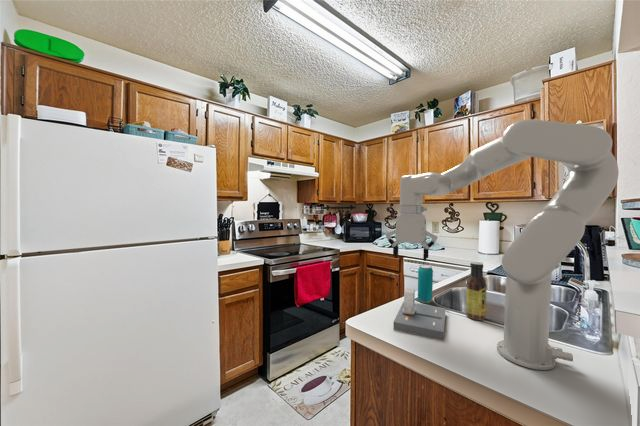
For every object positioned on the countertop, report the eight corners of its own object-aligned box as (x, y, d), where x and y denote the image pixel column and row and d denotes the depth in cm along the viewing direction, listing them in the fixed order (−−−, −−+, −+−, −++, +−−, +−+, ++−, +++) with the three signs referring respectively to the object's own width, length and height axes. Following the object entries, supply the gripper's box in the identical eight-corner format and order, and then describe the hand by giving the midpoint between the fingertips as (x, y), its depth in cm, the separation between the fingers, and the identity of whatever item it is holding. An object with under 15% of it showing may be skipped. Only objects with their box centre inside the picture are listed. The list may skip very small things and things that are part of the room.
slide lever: (415, 309, 95) (416, 289, 94) (414, 315, 90) (414, 293, 90) (404, 307, 97) (404, 287, 96) (402, 312, 92) (402, 291, 92)
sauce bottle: (485, 322, 91) (487, 266, 90) (465, 318, 94) (466, 264, 94) (485, 315, 97) (487, 262, 96) (466, 312, 100) (467, 260, 99)
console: (445, 314, 97) (445, 308, 97) (443, 340, 80) (443, 331, 79) (403, 307, 104) (403, 301, 104) (393, 329, 86) (393, 321, 86)
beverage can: (429, 299, 113) (430, 264, 113) (434, 304, 108) (434, 268, 107) (416, 298, 114) (416, 264, 113) (419, 303, 108) (420, 267, 108)
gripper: (438, 210, 91) (437, 258, 92) (388, 209, 99) (388, 254, 100) (437, 211, 85) (436, 263, 85) (383, 210, 92) (383, 258, 93)
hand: (410, 258), depth 93 cm, fingers open, 9 cm apart
